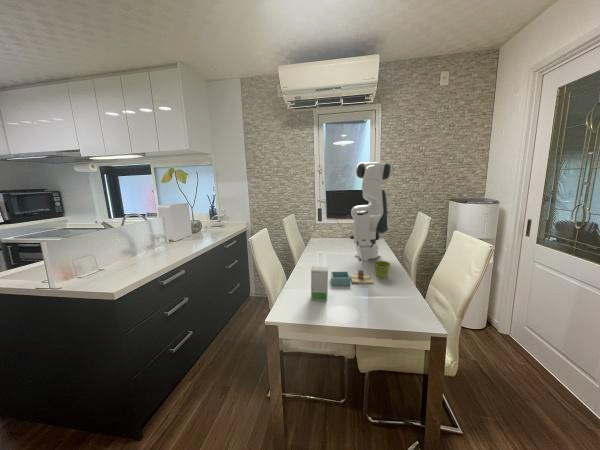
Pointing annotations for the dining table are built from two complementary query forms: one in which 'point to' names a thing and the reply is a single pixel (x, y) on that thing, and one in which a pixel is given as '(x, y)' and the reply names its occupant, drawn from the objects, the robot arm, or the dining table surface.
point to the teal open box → (340, 278)
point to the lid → (361, 278)
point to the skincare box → (319, 283)
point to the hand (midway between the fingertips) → (361, 263)
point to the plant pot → (381, 269)
